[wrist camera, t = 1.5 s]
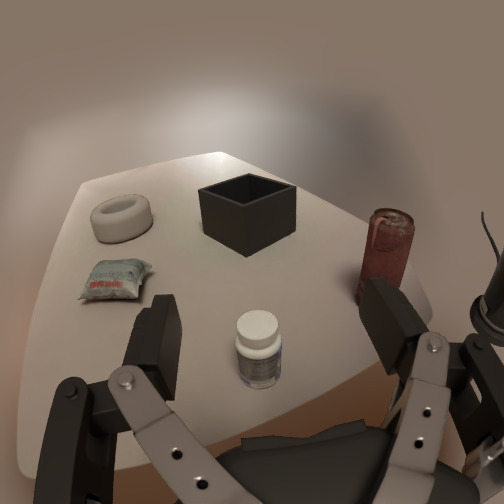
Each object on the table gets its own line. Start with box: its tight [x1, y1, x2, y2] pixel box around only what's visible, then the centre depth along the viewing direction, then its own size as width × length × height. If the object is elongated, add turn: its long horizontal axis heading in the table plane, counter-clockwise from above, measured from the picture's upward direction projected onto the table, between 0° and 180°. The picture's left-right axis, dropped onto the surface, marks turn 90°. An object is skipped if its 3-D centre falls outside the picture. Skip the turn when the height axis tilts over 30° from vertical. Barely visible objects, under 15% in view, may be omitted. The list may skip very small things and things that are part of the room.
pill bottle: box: [235, 310, 282, 389], centre depth 29 cm, size 5×5×8 cm
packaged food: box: [77, 259, 152, 300], centre depth 44 cm, size 9×12×5 cm
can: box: [356, 208, 415, 304], centre depth 36 cm, size 6×6×14 cm
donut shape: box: [90, 194, 152, 243], centre depth 63 cm, size 15×15×7 cm
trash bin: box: [198, 173, 297, 257], centre depth 58 cm, size 14×14×10 cm
